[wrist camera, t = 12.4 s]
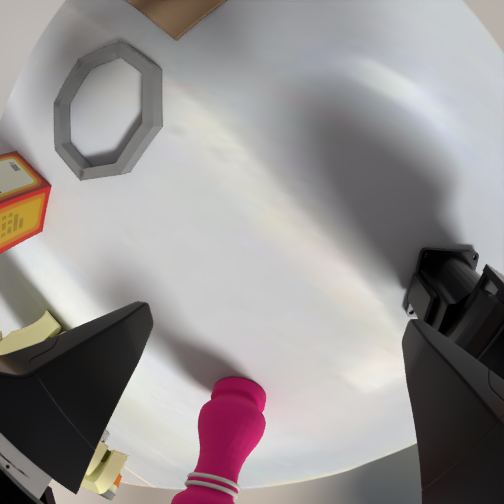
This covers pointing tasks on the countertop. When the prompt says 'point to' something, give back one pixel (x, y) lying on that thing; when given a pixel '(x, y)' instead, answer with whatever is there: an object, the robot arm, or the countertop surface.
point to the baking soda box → (20, 200)
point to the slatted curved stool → (103, 461)
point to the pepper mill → (225, 441)
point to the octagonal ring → (142, 136)
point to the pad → (176, 13)
